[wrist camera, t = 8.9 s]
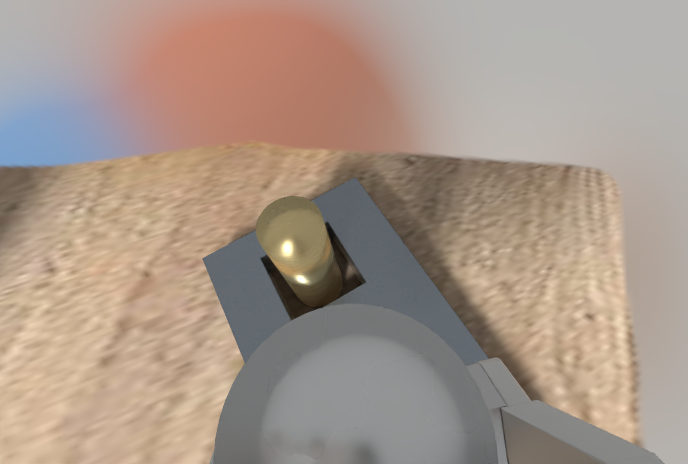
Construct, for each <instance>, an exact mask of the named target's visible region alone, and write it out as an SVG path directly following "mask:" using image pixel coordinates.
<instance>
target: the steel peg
mask: <svg viewBox="0 0 688 464" xmlns="http://www.w3.org/2000/svg"><path fill="white" fill-rule="evenodd" d="M213 464H499V463H498V452H497V443H496V438H495V433H494V429H493V424H492V420H491V417H490V414H489V411H488V408H487V405H486V402H485V400H484V398H483V396H482V394H481V392H480V389H479V387H478V385H477V383H476V381H475V380H474V378H473V377H472V375H471V373H470V372H469V370H468V368H467V367H466V365H465V364H464V363H463V362H462V360H461V359H460V358H459V357H458V355H457V354H456V353H455V351H454V350H453V349H452V348H451V347H450V346H449V345H448V344H447V343H446V342H445V341H444V340H443V339H442V338H440V337H439V336H438V335H437V334H435V333H434V332H433V331H431V330H430V329H429V328H428V327H426V326H424V325H423V324H421V323H420V322H418V321H416V320H415V319H413V318H411V317H409V316H406V315H404V314H402V313H400V312H397V311H394V310H391V309H387V308H384V307H380V306H374V305H368V304H341V305H333V306H328V307H324V308H319V309H317V310H314V311H311V312H308V313H305V314H303V315H301V316H299V317H297V318H295V319H293V320H291V321H290V322H288V323H287V324H285V325H284V326H282V327H281V328H279V329H278V330H276V331H275V332H274V333H273V334H272V335H270V336H269V337H268V338H267V339H266V340H265V341H264V342H263V343H262V344H261V345H260V346H259V347H258V348H257V349H256V350H255V351H254V352H253V354H252V355H251V356H250V358H249V359H248V360H247V362H246V363H245V364H244V366H243V367H242V369H241V370H240V372H239V374H238V376H237V377H236V379H235V381H234V382H233V384H232V387H231V389H230V391H229V393H228V396H227V398H226V400H225V403H224V406H223V409H222V413H221V416H220V419H219V424H218V428H217V433H216V438H215V448H214V458H213Z"/></svg>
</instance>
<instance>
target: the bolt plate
mask: <svg viewBox="0 0 688 464" xmlns="http://www.w3.org/2000/svg"><path fill="white" fill-rule="evenodd" d="M331 239H334V241H335V242H336V244H337V245H338V247H339V249H340V250H341V252H342V253H343V255H344V257H345V258H346V260H347V261H348V263H349V265H350V266H351V268H352V269H353V271H354V273H355V274H356V276H357V277H358V279H359V281H360V282H361V284H362V285H361V286H359V287H357V288H356V289H354V290H352V291H350V292H349V293H347V294H345V295H343V296H342V297H340V298H338V299H337V300H336V298H337V297H338V296H339V294H340V292H341V290H342V285H343V280H342V275H341V272H340V269H339V266H338V263H337V260H336V257H335V254H334V251H333V248H332V245H331V242H330V240H331ZM202 259H203V261H204V264H205V266H206V268H207V271H208V273H209V276H210V278H211V281H212V283H213V286H214V288H215V291H216V293H217V296H218V298H219V300H220V303H221V305H222V308H223V310H224V313H225V315H226V318H227V320H228V323H229V325H230V327H231V330H232V332H233V335H234V337H235V340H236V342H237V345H238V347H239V350H240V352H241V355H242V357H243V359H244V362H245V363H246V362H247V360H248V359H249V358H250V356H251V355H252V354H253V352H254V351H255V350H256V349H257V348H258V347H259V346H260V345H261V344H262V343H263V342H264V341H265V340H266V339H267V338H268V337H269V336H270V335H272V334H273V333H274V332H275V331H276V330H278V329H279V328H281V327H282V326H284V325H285V324H287V323H288V322H290V321H291V320H293V319H294V317H293V315H292V313H291V311H290V309H289V307H288V305H287V303H286V301H285V299H284V297H283V295H282V293H281V291H280V289H279V287H278V285H277V283H276V281H275V279H274V277H273V275H272V273H271V272H273V271H275V270H277V269H278V270H279V272H280V273H281V274H282V276H283V277H284V279H285V280H286V282H287V283H288V284H289V286H290V287H291V289H292V290H293V291H294V293H295V294H296V296H297V297H298V298H299V300H300V301H301V302H302V303H304V304H305V305H307V306H310V307H323V308H324V306H325V307H328V306H333V305H341V304H368V305H374V306H380V307H384V308H387V309H391V310H394V311H397V312H400V313H402V314H404V315H406V316H409V317H411V318H413V319H415V320H416V321H418V322H420V323H421V324H423V325H424V326H426V327H428V328H429V329H430V330H431V331H433V332H434V333H435V334H437V335H438V336H439V337H440V338H442V339H443V340H444V341H445V342H446V343H447V344H448V345H449V346H450V347H451V348H452V349H453V350H454V351H455V353H456V354H457V355H458V357H459V358H460V359H461V360H462V362H463V363H464V364H465V365H470V364H474V363H478V362H480V361H483V360H487V359H489V358H488V357H487V355H486V354H485V352H484V351H483V350H482V348H481V347H480V346H479V344H478V343H477V342H476V340H475V339H474V338H473V336H472V335H471V333H470V332H469V331H468V329H467V328H466V327H465V325H464V324H463V323H462V321H461V320H460V318H459V317H458V316H457V314H456V313H455V312H454V310H453V309H452V308H451V306H450V305H449V304H448V302H447V301H446V299H445V298H444V297H443V295H442V294H441V293H440V291H439V290H438V289H437V287H436V286H435V285H434V283H433V282H432V280H431V279H430V278H429V276H428V275H427V274H426V272H425V271H424V270H423V268H422V267H421V265H420V264H419V263H418V261H417V260H416V259H415V257H414V256H413V255H412V253H411V252H410V251H409V249H408V248H407V246H406V245H405V244H404V242H403V241H402V240H401V238H400V237H399V236H398V234H397V233H396V232H395V230H394V229H393V227H392V226H391V225H390V223H389V222H388V221H387V219H386V218H385V217H384V215H383V214H382V212H381V211H380V210H379V208H378V207H377V206H376V204H375V203H374V202H373V200H372V199H371V198H370V196H369V195H368V193H367V192H366V191H365V189H364V188H363V187H362V185H361V184H360V183H359V181H358V180H357V179H356V177H355V178H353V179H351V180H349V181H347V182H345V183H343V184H341V185H340V186H338V187H336V188H334V189H332V190H330V191H328V192H326V193H324V194H323V195H321V196H319V197H317V198H315V199H313V200H311V201H310V200H308V199H306V198H303V197H298V196H290V197H284V198H281V199H278V200H276V201H274V202H273V203H271V204H270V205H268V206H267V207H266V208H265V209H264V210H263V212H262V213H261V215H260V216H259V218H258V221H257V224H256V230H255V231H253V232H251V233H249V234H247V235H245V236H244V237H242V238H240V239H238V240H236V241H234V242H232V243H230V244H228V245H227V246H225V247H223V248H221V249H219V250H217V251H215V252H213V253H212V254H210V255H208V256H206V257H204V258H202ZM334 300H335V301H334Z"/></svg>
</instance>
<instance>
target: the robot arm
mask: <svg viewBox="0 0 688 464" xmlns="http://www.w3.org/2000/svg"><path fill="white" fill-rule="evenodd" d="M466 367H467V368H468V370H469V372H470V373H471V375H472V377H473V378H474V380H475V381H476V383H477V385H478V387H479V389H480V392H481V394H482V396H483V398H484V400H485V402H486V405H487V408H488V411H489V414H490V417H491V420H492V424H493V429H494V433H495V438H496V443H497V452H498V463H499V464H664V463H663V462H662V461H661V460H660V459H659V458H658V457H657V456H656V455H655V454H654V453H652V452H650V451H648V450H646V449H644V448H641V447H639V446H637V445H635V444H633V443H631V442H628V441H626V440H624V439H622V438H620V437H618V436H615V435H613V434H611V433H609V432H607V431H604V430H602V429H600V428H598V427H596V426H594V425H591V424H589V423H587V422H585V421H583V420H581V419H578V418H576V417H574V416H572V415H570V414H568V413H565V412H563V411H561V410H559V409H557V408H555V407H552V406H550V405H548V404H546V403H544V402H542V401H539V400H534V401H531V400H530V398H529V397H528V396H527V394H526V393H525V392H524V390H523V389H522V388H521V386H520V385H519V384H518V382H517V381H516V380H515V378H514V377H513V376H512V374H511V373H510V371H509V370H508V369H507V367H506V366H505V365H504V363H503V362H502V361H501V359H499V358H497V357H495V358H491V359H487V360H483V361H480V362H478V363H474V364H470V365H466ZM213 458H214V451H213V454H212V457H211V460H210V463H209V464H213Z"/></svg>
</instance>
